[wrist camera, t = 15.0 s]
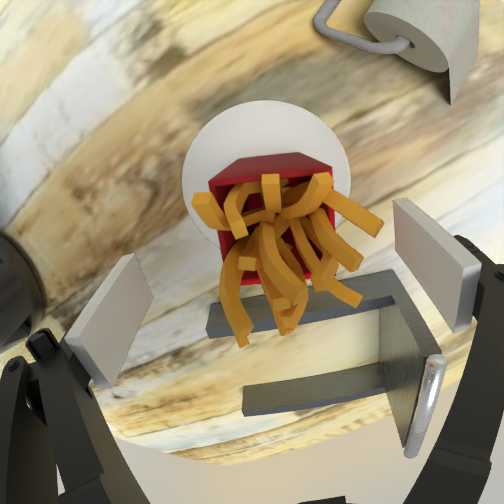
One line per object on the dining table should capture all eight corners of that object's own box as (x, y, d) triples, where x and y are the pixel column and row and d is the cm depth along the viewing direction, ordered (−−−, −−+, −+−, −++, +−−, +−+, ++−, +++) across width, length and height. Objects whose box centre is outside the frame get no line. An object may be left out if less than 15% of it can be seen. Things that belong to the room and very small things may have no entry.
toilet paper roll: (439, 126, 23) (430, 65, 14) (345, 73, 28) (288, 10, 18) (482, 46, 19) (483, -35, 9) (389, 2, 24) (351, -73, 14)
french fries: (224, 148, 25) (177, 212, 11) (328, 137, 24) (404, 189, 11) (240, 247, 29) (221, 380, 15) (333, 238, 28) (385, 362, 15)
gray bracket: (245, 391, 39) (239, 486, 27) (211, 303, 33) (187, 414, 20) (389, 365, 36) (420, 455, 24) (393, 269, 30) (450, 366, 18)
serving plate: (209, 270, 31) (208, 274, 30) (164, 124, 25) (161, 125, 24) (356, 241, 29) (359, 245, 28) (332, 86, 23) (334, 86, 22)
